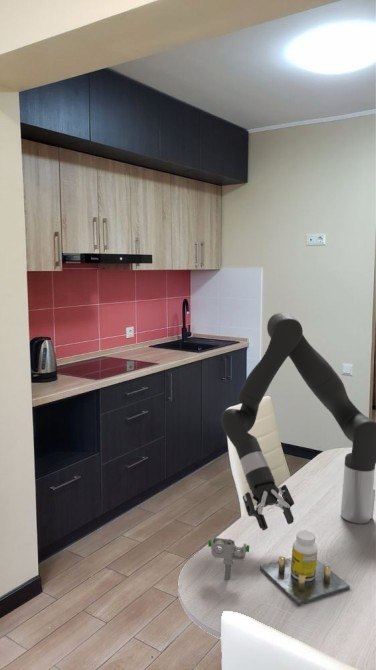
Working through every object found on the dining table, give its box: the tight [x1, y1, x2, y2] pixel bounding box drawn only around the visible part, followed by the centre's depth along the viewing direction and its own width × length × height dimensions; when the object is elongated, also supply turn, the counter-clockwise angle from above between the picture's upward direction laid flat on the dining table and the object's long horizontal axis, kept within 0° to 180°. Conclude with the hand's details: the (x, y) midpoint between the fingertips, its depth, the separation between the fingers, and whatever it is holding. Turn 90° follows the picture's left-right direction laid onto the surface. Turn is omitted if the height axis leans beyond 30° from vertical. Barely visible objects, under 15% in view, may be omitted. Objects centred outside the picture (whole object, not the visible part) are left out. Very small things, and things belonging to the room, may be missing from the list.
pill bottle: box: [291, 530, 318, 581], centre depth 133 cm, size 6×6×11 cm
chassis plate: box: [259, 556, 351, 607], centre depth 134 cm, size 16×16×4 cm
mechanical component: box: [207, 536, 250, 582], centre depth 132 cm, size 3×10×10 cm, turn 79°
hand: (278, 526), depth 143 cm, fingers open, 8 cm apart
